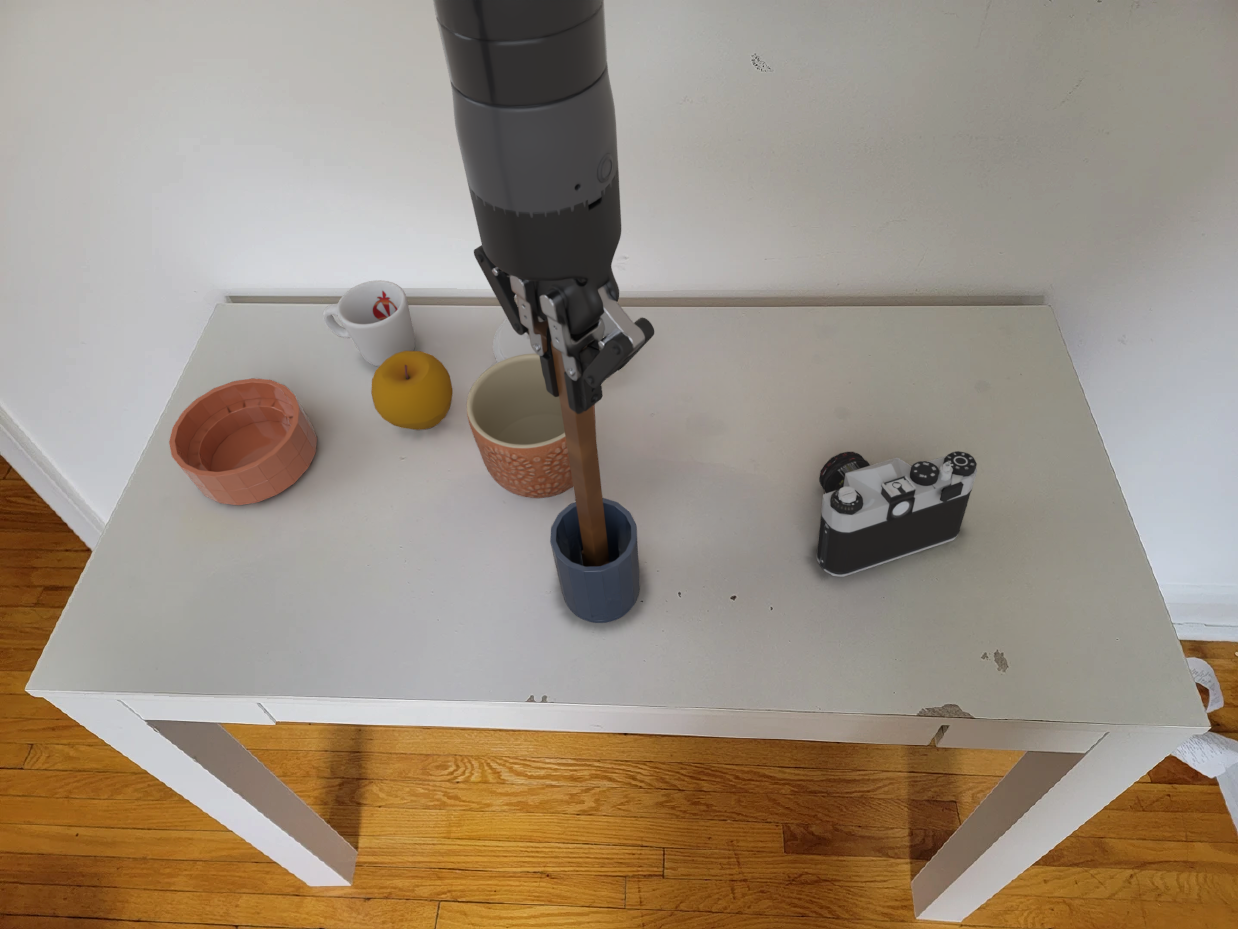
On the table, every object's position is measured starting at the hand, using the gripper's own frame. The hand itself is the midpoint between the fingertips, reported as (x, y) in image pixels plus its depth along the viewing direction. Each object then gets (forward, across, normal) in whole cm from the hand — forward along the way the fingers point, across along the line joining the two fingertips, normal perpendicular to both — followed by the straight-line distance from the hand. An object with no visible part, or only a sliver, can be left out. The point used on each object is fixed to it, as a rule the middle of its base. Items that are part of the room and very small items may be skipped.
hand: (574, 395), depth 51 cm
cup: (+28, -43, +4) cm, 51 cm away
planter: (+28, -15, +6) cm, 32 cm away
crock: (+28, 0, 0) cm, 28 cm away
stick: (+27, 0, 0) cm, 27 cm away
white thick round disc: (+28, -26, +17) cm, 42 cm away
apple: (+28, -30, +1) cm, 41 cm away
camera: (+28, +14, +24) cm, 39 cm away
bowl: (+28, -39, -15) cm, 50 cm away
